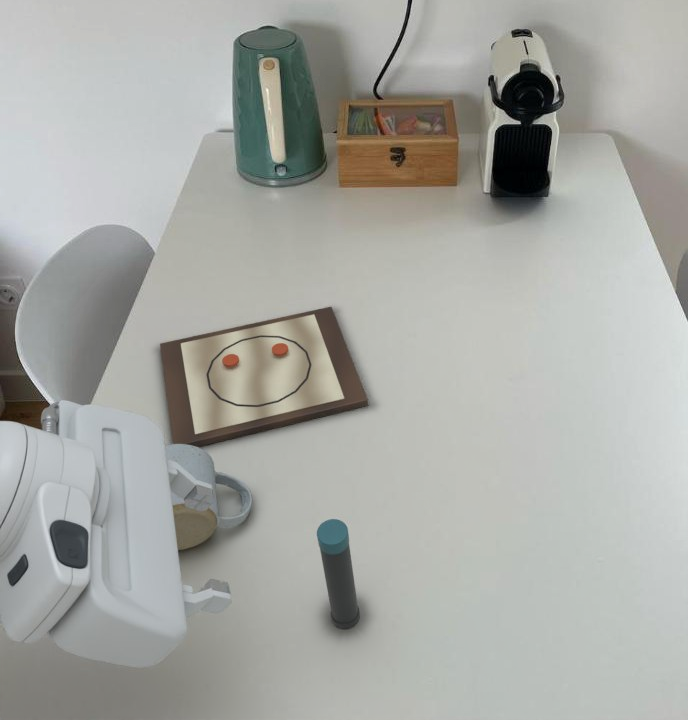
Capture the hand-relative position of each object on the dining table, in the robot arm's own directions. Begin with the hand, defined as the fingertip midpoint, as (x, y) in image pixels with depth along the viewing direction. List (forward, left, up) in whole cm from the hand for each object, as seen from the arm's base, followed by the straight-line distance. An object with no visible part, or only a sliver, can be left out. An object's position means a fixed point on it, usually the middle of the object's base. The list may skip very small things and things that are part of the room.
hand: (217, 546), depth 62 cm
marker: (+9, 0, -15) cm, 18 cm away
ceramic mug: (-3, +16, -15) cm, 22 cm away
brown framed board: (+7, +34, -15) cm, 38 cm away
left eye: (+4, +36, -13) cm, 39 cm away
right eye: (+10, +36, -13) cm, 40 cm away
